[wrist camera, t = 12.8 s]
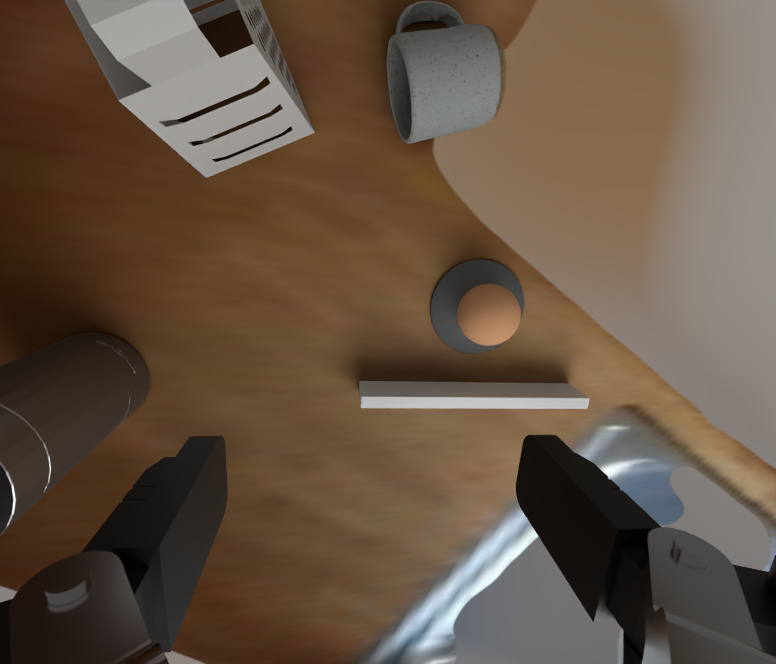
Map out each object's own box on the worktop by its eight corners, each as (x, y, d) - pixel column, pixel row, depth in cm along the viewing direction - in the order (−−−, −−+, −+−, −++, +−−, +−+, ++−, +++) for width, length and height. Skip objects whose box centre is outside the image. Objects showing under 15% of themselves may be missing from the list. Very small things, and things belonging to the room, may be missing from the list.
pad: (469, 370, 43) (470, 371, 43) (411, 304, 41) (411, 305, 40) (540, 309, 42) (541, 310, 42) (485, 238, 40) (486, 238, 39)
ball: (472, 346, 42) (494, 366, 37) (438, 306, 41) (454, 320, 35) (516, 309, 42) (544, 323, 36) (483, 267, 40) (507, 275, 34)
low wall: (359, 391, 42) (361, 408, 39) (359, 380, 42) (361, 396, 38) (566, 393, 46) (587, 408, 42) (568, 383, 45) (589, 398, 41)
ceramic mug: (484, 132, 37) (519, 107, 30) (399, 152, 37) (415, 132, 29) (463, 0, 34) (497, -63, 27) (371, 21, 34) (380, -38, 26)
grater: (260, 0, 32) (145, -325, 13) (314, 132, 35) (286, 26, 16) (141, 49, 32) (-149, -205, 13) (206, 177, 35) (48, 125, 16)
